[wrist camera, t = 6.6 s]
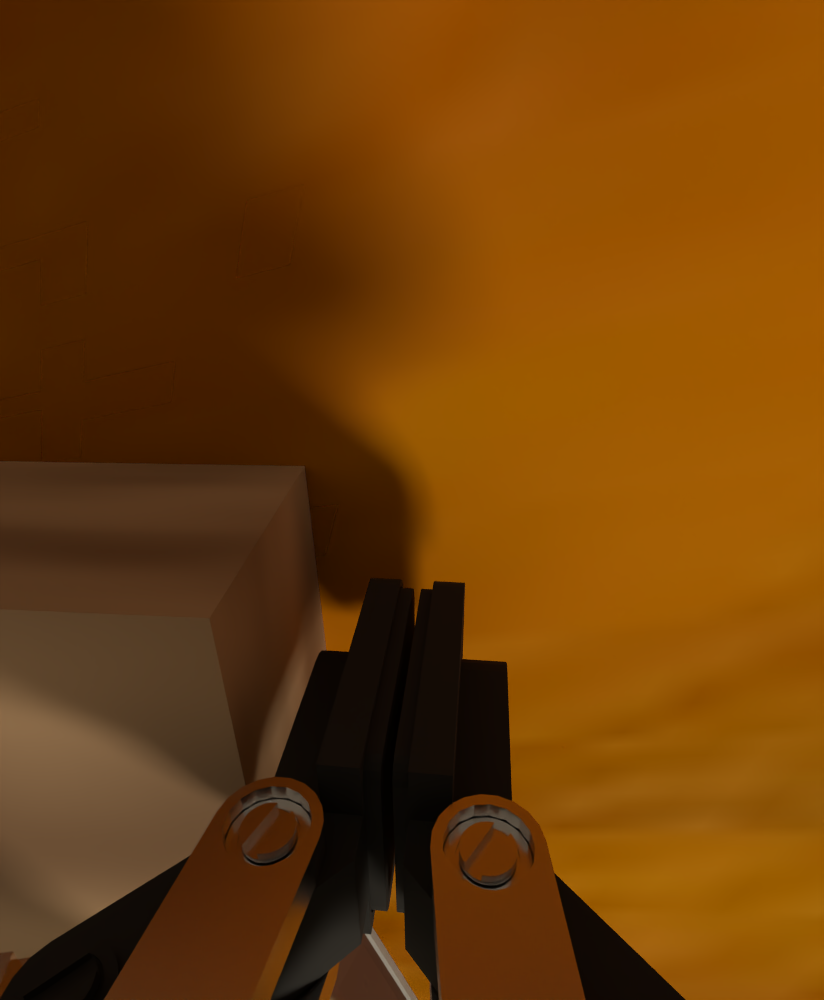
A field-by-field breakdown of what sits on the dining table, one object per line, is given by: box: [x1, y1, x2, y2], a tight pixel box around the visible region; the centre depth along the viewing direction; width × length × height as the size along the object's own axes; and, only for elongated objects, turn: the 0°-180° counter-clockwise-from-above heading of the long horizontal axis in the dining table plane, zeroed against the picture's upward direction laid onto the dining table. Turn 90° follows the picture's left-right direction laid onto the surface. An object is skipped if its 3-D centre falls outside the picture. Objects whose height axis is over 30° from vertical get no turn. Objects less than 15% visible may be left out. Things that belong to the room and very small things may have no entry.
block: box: [0, 461, 326, 959], centre depth 12 cm, size 9×10×4 cm
